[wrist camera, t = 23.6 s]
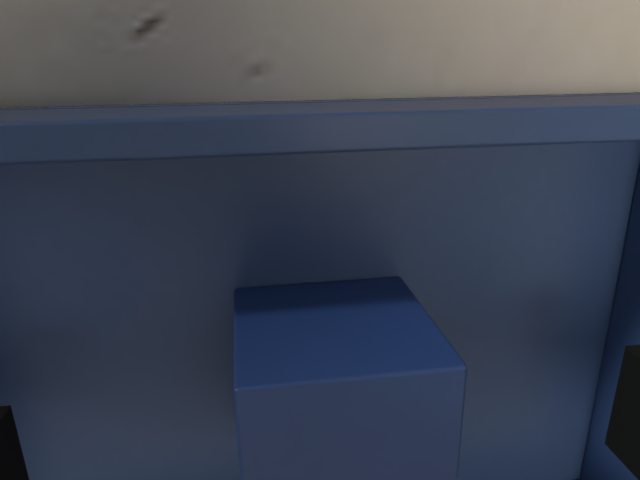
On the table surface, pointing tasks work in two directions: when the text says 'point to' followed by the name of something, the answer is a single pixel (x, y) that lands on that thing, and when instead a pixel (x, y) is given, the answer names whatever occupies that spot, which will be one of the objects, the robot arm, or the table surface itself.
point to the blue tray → (314, 266)
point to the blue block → (344, 384)
